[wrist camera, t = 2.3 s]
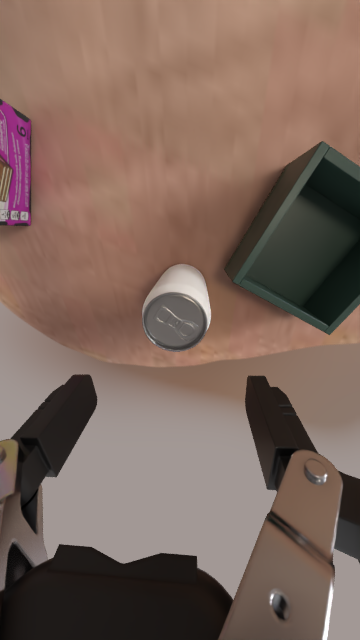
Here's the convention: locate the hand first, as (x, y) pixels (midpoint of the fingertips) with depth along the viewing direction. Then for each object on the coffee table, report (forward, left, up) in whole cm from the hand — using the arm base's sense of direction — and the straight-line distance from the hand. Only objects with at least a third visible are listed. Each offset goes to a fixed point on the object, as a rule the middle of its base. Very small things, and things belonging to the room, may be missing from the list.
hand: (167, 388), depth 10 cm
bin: (+10, +11, -20) cm, 24 cm away
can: (0, 0, -20) cm, 20 cm away
